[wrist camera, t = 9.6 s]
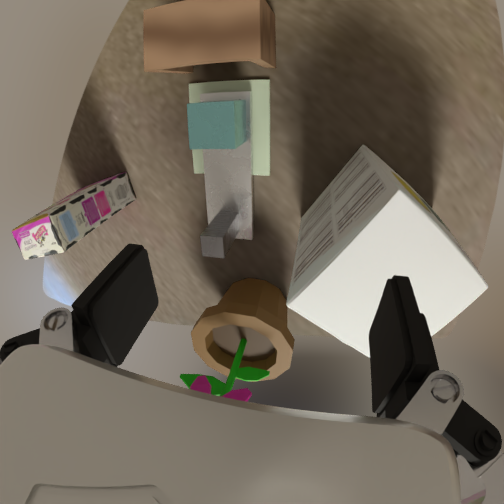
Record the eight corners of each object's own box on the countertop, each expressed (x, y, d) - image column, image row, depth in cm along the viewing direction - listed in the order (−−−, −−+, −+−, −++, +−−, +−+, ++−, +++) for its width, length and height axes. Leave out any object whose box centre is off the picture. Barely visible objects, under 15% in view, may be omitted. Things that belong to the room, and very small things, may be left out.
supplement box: (434, 209, 34) (492, 288, 19) (370, 273, 40) (386, 371, 26) (362, 141, 32) (399, 184, 17) (298, 219, 39) (281, 306, 24)
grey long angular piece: (202, 93, 32) (173, 95, 25) (251, 91, 31) (233, 91, 24) (211, 232, 42) (190, 263, 35) (253, 236, 40) (239, 268, 34)
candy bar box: (126, 168, 40) (48, 214, 26) (137, 199, 42) (66, 254, 29) (80, 186, 43) (9, 230, 30) (90, 213, 46) (24, 262, 32)
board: (189, 83, 32) (188, 83, 32) (269, 79, 30) (269, 79, 30) (195, 172, 38) (194, 173, 38) (270, 174, 36) (269, 175, 36)
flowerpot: (292, 261, 42) (242, 477, 17) (306, 333, 49) (276, 509, 23) (201, 270, 46) (101, 439, 21) (227, 335, 53) (167, 487, 28)
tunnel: (183, 24, 28) (143, 10, 20) (274, 15, 26) (259, -10, 18) (184, 73, 32) (144, 71, 24) (275, 67, 30) (260, 59, 21)
